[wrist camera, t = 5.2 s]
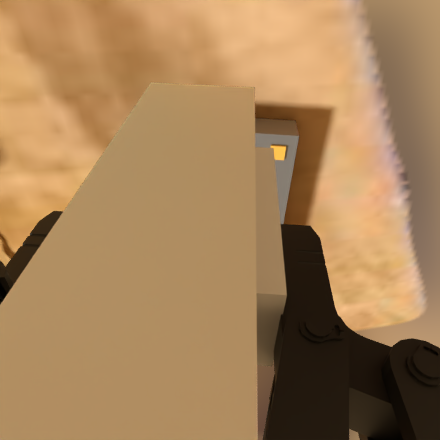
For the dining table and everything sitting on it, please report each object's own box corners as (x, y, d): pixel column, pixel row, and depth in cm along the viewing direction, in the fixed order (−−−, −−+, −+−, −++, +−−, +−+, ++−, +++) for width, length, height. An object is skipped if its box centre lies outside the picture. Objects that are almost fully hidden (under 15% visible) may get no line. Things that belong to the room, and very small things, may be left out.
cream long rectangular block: (160, 190, 17) (-65, 823, 5) (150, 82, 14) (-505, 1047, 2) (246, 195, 17) (226, 863, 5) (254, 87, 14) (264, 1180, 2)
